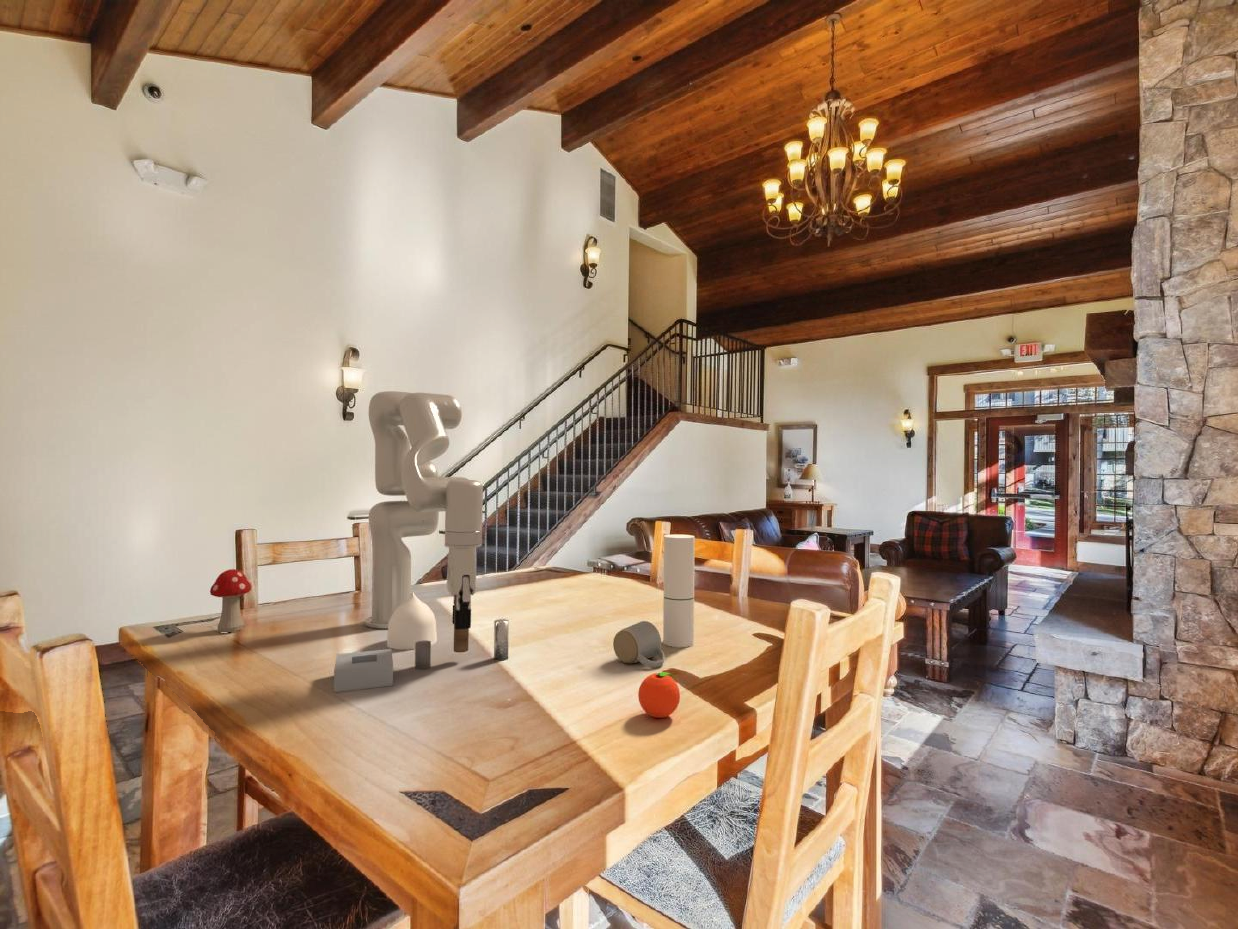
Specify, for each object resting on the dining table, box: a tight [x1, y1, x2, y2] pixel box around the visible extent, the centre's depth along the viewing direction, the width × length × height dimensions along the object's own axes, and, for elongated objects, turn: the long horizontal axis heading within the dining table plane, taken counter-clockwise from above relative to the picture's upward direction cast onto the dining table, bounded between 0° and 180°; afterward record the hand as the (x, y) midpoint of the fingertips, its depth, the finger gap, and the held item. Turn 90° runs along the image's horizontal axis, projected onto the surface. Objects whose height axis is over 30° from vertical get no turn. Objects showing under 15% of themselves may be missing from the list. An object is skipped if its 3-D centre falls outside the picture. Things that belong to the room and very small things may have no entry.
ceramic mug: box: [612, 620, 666, 669], centre depth 130 cm, size 11×8×8 cm
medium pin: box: [493, 618, 510, 661], centre depth 131 cm, size 3×3×8 cm
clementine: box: [637, 671, 681, 719], centre depth 102 cm, size 8×7×7 cm
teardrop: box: [386, 590, 438, 650], centre depth 142 cm, size 11×11×12 cm
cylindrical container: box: [662, 534, 696, 648], centre depth 144 cm, size 7×7×25 cm
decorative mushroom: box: [209, 568, 253, 633], centre depth 151 cm, size 10×9×15 cm
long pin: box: [453, 592, 470, 653], centre depth 129 cm, size 3×3×14 cm
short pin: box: [414, 640, 432, 671], centre depth 125 cm, size 3×3×5 cm
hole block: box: [333, 648, 394, 693], centre depth 117 cm, size 10×10×4 cm
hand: (461, 625), depth 129 cm, fingers closed on long pin, 3 cm apart
